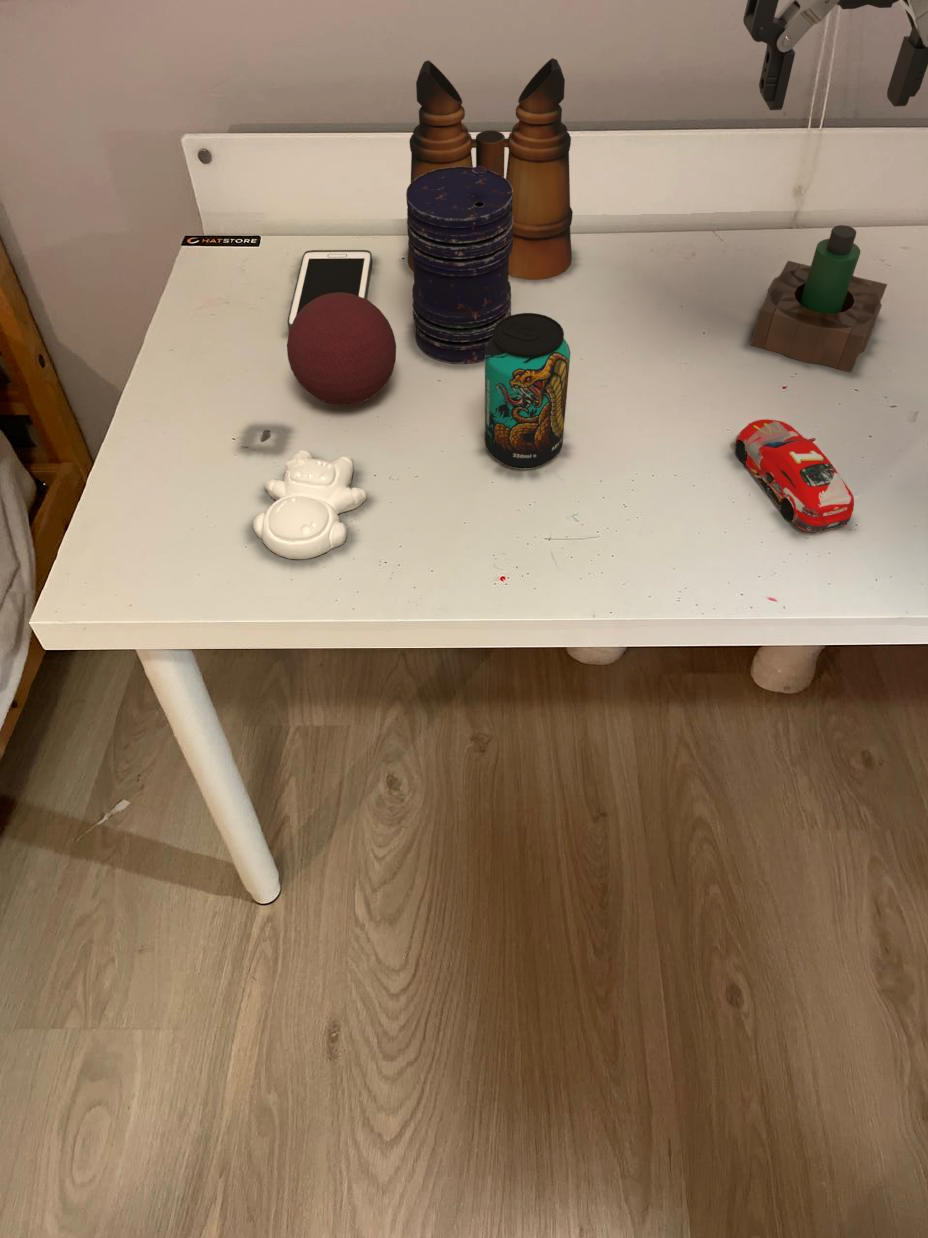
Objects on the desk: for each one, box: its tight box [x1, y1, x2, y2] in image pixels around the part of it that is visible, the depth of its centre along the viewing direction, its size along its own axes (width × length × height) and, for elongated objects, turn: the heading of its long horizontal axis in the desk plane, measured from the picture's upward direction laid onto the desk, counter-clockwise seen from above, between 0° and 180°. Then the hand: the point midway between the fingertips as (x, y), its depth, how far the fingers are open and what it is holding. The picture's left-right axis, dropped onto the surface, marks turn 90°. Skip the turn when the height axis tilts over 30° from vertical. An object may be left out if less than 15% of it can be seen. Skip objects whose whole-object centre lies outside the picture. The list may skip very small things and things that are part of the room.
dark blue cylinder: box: [405, 166, 513, 365], centre depth 88 cm, size 10×10×18 cm
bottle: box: [800, 224, 861, 314], centre depth 90 cm, size 4×4×11 cm
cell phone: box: [287, 249, 373, 331], centre depth 100 cm, size 8×15×1 cm, turn 179°
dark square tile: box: [259, 429, 285, 443], centre depth 85 cm, size 3×3×1 cm
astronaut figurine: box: [252, 449, 367, 560], centre depth 79 cm, size 9×12×3 cm
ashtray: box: [750, 260, 888, 373], centre depth 93 cm, size 11×11×4 cm
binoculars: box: [406, 57, 574, 280], centre depth 96 cm, size 18×8×20 cm, turn 90°
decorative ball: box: [286, 292, 397, 406], centre depth 86 cm, size 10×10×10 cm
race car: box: [734, 418, 855, 534], centre depth 79 cm, size 13×5×4 cm, turn 17°
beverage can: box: [484, 312, 571, 470], centre depth 80 cm, size 7×7×12 cm
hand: (834, 103), depth 64 cm, fingers open, 8 cm apart
